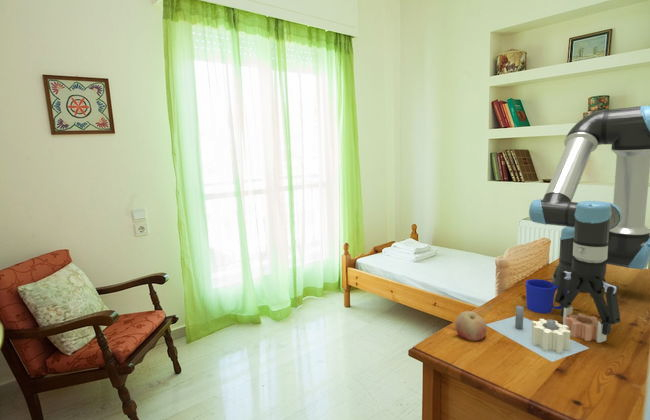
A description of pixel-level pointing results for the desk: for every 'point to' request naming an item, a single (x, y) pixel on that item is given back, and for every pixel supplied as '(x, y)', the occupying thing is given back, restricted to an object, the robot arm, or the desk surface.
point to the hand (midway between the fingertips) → (583, 335)
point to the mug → (541, 295)
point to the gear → (550, 336)
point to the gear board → (521, 333)
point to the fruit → (470, 326)
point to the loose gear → (582, 326)
